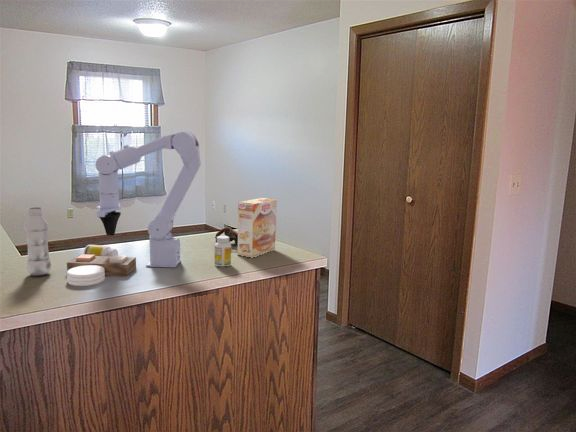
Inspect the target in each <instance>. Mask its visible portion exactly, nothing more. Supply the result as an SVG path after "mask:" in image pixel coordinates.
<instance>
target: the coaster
mask: <svg viewBox="0 0 576 432" xmlns="http://www.w3.org/2000/svg"><path fill="white" fill-rule="evenodd" d="M66 271H67V270H66ZM104 272H105V269H104V268H103V267H101V266H97V265H85V266H78V267H74V268H71V269H70V270H68V271H67V272H66V275H67V276H66V279H67V280H66V281H67V284H68V285H70V286H73V287H88V286H93V285H98V284H101V283H103V282H104V281H105V280H106V275H105V273H104Z"/></svg>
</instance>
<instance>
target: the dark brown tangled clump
mask: <svg viewBox="0 0 576 432" xmlns="http://www.w3.org/2000/svg"><path fill="white" fill-rule="evenodd" d="M222 234H224V236H228V237H229V243H230V244H231V243H232V242H233V241H234V244H235V243H237V245H238V231H236V230H234V229H232V227H229V226H228V227H223V228H222V229H220V230H219V231H218V232H217V233H216V234H215V237H214V238H215V244H216V243H217V237H218V236H222Z"/></svg>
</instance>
